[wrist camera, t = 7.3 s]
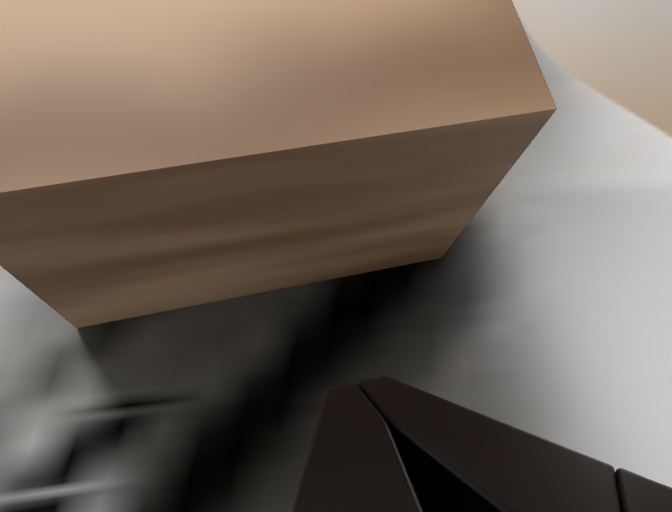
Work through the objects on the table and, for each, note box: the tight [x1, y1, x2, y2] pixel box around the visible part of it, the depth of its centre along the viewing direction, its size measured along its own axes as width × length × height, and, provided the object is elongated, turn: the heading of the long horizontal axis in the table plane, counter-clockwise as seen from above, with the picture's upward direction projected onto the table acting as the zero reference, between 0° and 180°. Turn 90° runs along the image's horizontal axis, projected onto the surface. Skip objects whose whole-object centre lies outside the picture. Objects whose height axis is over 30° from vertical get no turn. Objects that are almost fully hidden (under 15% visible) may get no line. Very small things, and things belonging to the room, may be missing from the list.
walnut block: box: [0, 0, 557, 328], centre depth 18 cm, size 14×12×9 cm
